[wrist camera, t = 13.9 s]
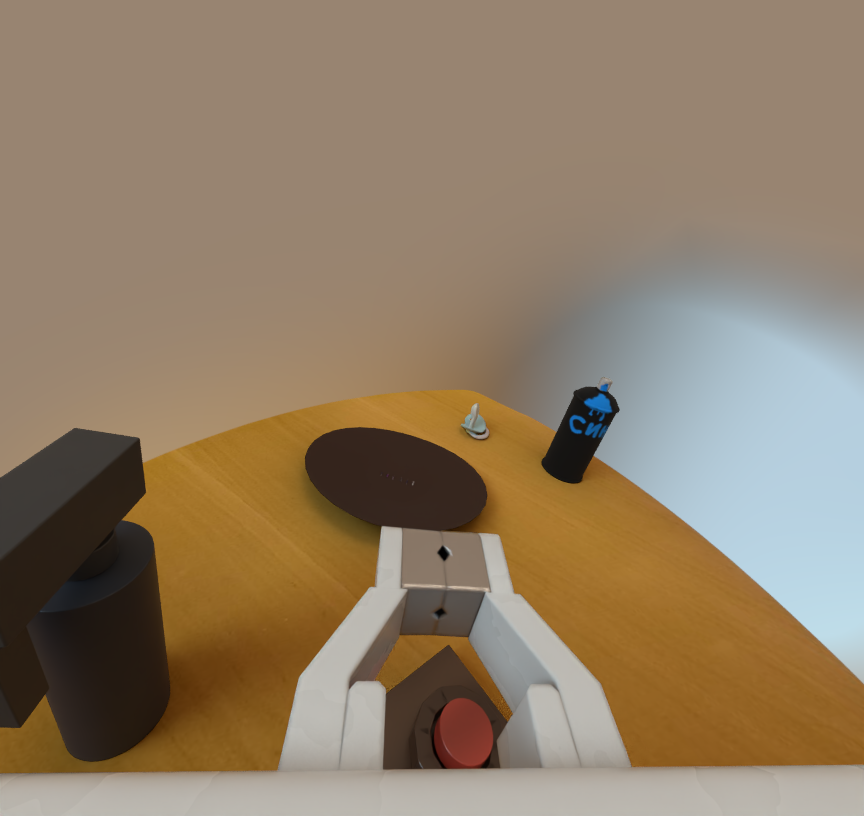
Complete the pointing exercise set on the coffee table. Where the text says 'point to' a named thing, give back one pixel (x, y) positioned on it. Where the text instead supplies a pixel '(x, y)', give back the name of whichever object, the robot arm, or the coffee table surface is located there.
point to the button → (463, 735)
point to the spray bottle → (86, 589)
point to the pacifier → (475, 423)
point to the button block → (431, 712)
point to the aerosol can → (581, 432)
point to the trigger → (20, 681)
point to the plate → (395, 479)
